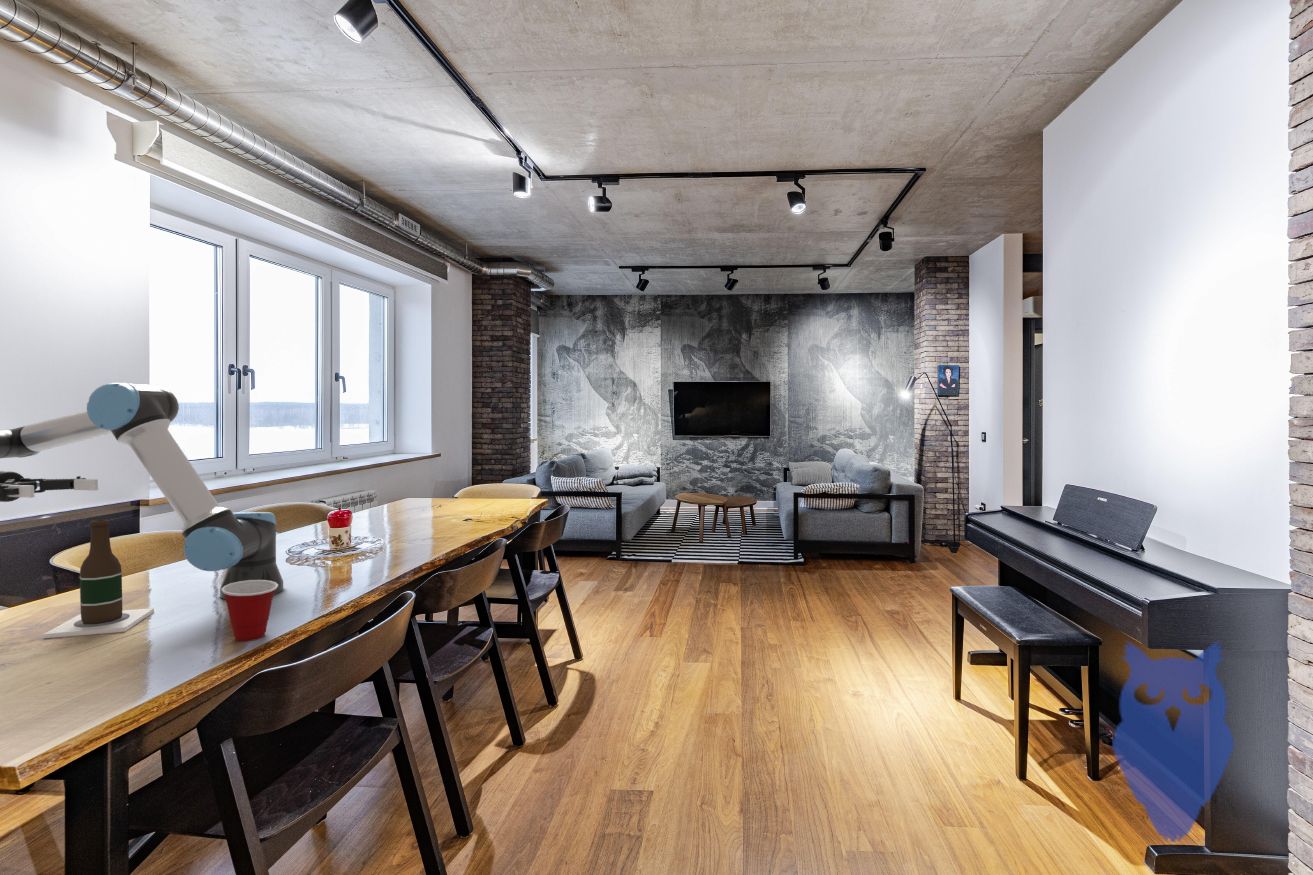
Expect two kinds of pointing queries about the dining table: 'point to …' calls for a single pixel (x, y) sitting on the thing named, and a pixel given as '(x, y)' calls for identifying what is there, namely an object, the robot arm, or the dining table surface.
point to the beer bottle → (100, 579)
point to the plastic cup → (249, 607)
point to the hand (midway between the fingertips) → (65, 488)
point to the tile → (119, 625)
